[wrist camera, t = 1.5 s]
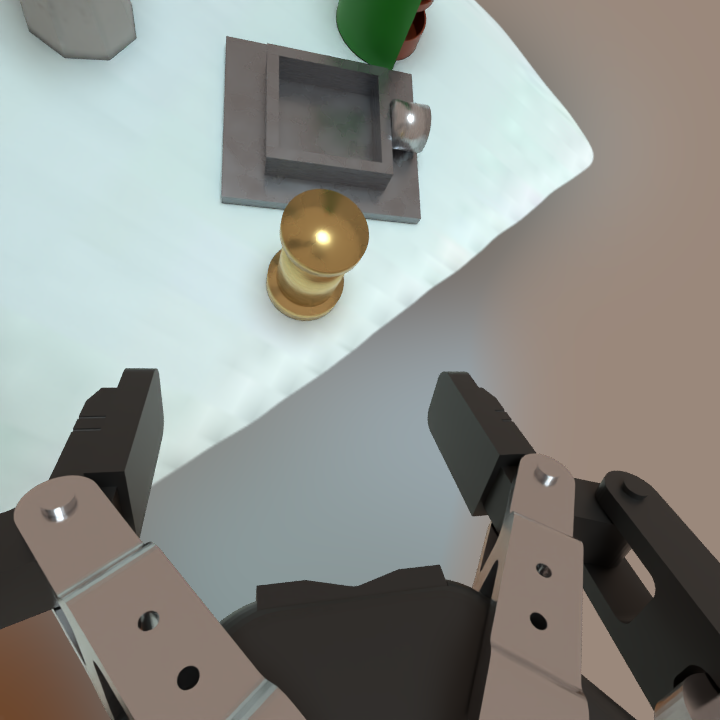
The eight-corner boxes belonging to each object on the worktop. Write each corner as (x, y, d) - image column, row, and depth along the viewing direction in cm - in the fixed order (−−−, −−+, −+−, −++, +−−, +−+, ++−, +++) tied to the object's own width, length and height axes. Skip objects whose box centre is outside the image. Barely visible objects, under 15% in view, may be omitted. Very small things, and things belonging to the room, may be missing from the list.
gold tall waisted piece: (266, 318, 37) (276, 272, 27) (266, 247, 38) (276, 178, 28) (340, 322, 38) (375, 279, 29) (338, 254, 40) (371, 191, 30)
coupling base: (221, 202, 38) (219, 167, 33) (226, 45, 41) (225, -8, 36) (416, 223, 42) (439, 195, 38) (407, 82, 46) (427, 39, 41)
